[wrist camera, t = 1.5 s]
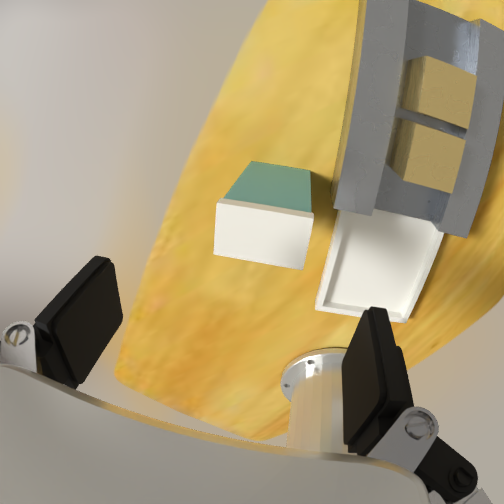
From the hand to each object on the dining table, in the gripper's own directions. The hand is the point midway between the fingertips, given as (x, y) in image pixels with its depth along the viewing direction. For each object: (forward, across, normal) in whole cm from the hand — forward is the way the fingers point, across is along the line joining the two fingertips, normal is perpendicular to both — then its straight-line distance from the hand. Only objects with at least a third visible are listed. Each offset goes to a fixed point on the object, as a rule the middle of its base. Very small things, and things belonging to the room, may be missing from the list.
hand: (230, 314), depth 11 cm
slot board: (+18, -11, -8) cm, 22 cm away
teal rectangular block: (+18, 0, +1) cm, 18 cm away
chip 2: (+16, -11, -5) cm, 20 cm away
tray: (+18, -11, +7) cm, 22 cm away
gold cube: (+16, -11, -10) cm, 22 cm away
